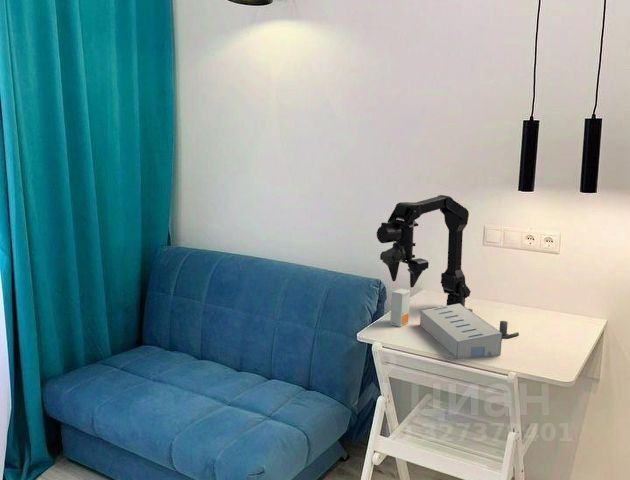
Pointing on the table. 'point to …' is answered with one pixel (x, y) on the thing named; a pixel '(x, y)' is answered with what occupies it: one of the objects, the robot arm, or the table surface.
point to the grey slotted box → (461, 331)
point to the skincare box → (400, 307)
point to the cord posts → (504, 329)
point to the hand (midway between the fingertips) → (402, 284)
